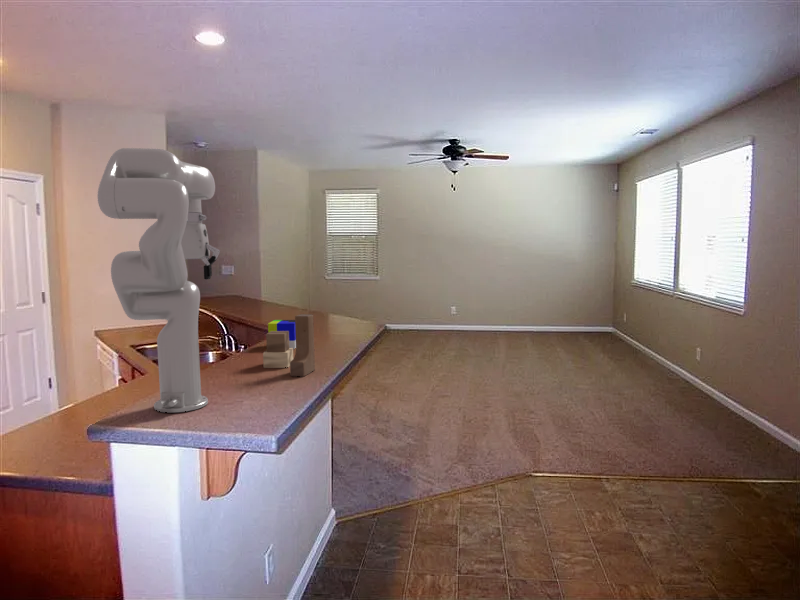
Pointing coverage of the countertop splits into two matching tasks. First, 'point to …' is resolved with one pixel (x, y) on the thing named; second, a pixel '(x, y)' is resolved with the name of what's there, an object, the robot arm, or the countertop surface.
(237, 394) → the countertop surface
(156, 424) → the countertop surface
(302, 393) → the countertop surface
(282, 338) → the walnut cube
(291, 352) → the oak block
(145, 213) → the robot arm
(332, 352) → the countertop surface
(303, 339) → the wooden block
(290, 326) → the puzzle toy
